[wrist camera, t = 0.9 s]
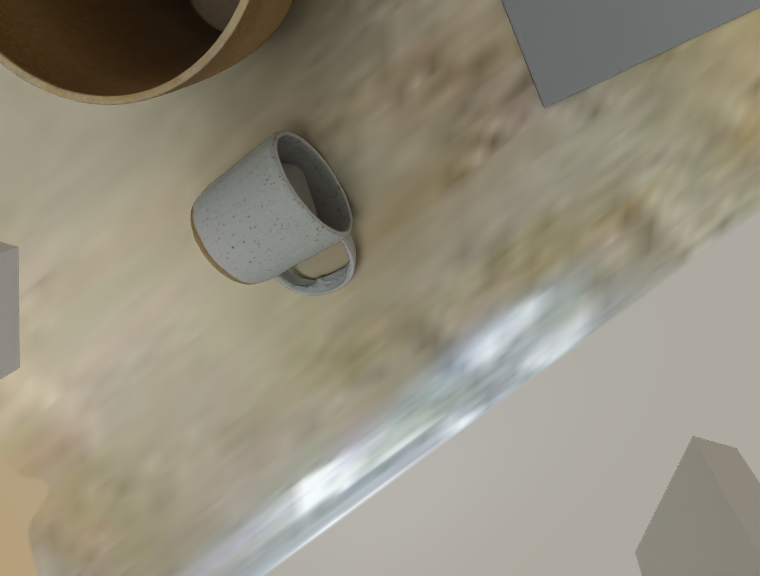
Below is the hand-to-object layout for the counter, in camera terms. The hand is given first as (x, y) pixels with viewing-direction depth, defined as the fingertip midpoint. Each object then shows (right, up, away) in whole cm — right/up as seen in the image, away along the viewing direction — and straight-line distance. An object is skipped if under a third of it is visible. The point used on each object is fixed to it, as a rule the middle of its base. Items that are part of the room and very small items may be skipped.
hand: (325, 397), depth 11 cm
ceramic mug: (-4, +7, +30) cm, 32 cm away
